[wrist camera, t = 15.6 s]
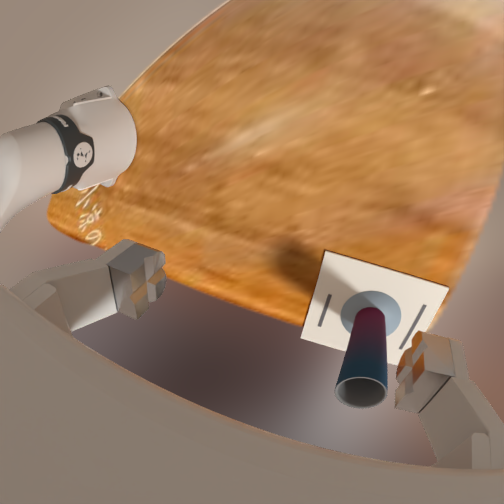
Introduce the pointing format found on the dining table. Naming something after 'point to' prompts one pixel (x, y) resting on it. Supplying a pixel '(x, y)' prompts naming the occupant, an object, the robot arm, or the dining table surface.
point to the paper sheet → (369, 303)
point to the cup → (364, 362)
